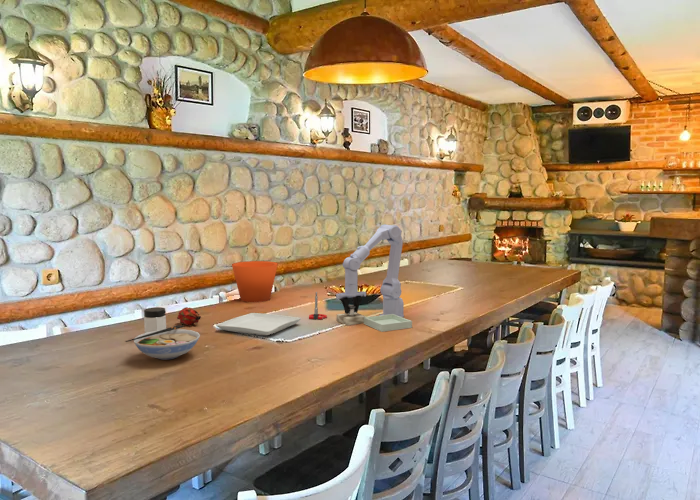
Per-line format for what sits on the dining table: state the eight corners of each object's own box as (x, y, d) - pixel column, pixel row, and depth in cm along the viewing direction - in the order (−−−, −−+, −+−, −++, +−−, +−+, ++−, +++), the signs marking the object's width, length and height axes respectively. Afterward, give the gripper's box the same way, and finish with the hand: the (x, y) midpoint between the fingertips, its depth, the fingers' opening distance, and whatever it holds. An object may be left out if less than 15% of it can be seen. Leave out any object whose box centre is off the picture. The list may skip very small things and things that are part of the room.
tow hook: (311, 315, 264) (306, 319, 255) (311, 289, 263) (307, 292, 254) (328, 316, 263) (324, 320, 254) (328, 290, 262) (324, 292, 253)
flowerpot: (287, 298, 305) (287, 263, 303) (257, 305, 284) (256, 268, 282) (254, 293, 319) (253, 259, 317) (222, 300, 298) (221, 264, 296)
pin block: (355, 318, 257) (355, 312, 257) (365, 322, 248) (365, 316, 248) (336, 320, 252) (336, 314, 252) (346, 325, 244) (346, 318, 243)
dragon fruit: (180, 325, 248) (198, 333, 242) (168, 318, 241) (187, 325, 235) (190, 309, 251) (208, 316, 245) (179, 301, 244) (197, 308, 238)
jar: (167, 339, 219) (166, 310, 217) (146, 342, 215) (145, 312, 214) (164, 334, 227) (163, 306, 225) (144, 336, 223) (142, 308, 222)
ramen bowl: (160, 372, 180) (159, 348, 179) (117, 360, 192) (116, 337, 191) (216, 353, 201) (215, 331, 200) (174, 344, 213) (173, 323, 212)
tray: (392, 320, 254) (393, 313, 253) (411, 327, 240) (412, 321, 240) (363, 323, 246) (363, 317, 246) (381, 331, 233) (381, 324, 232)
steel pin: (353, 319, 253) (353, 304, 252) (357, 321, 249) (357, 306, 249) (345, 320, 251) (345, 305, 250) (349, 322, 248) (349, 307, 247)
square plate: (302, 325, 245) (302, 316, 245) (268, 340, 220) (268, 330, 220) (252, 319, 256) (252, 311, 256) (214, 332, 232) (214, 323, 231)
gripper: (360, 281, 255) (360, 309, 257) (333, 283, 249) (333, 312, 250) (368, 283, 249) (368, 312, 251) (340, 285, 242) (340, 315, 244)
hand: (351, 312), depth 250 cm, fingers closed on steel pin, 4 cm apart
